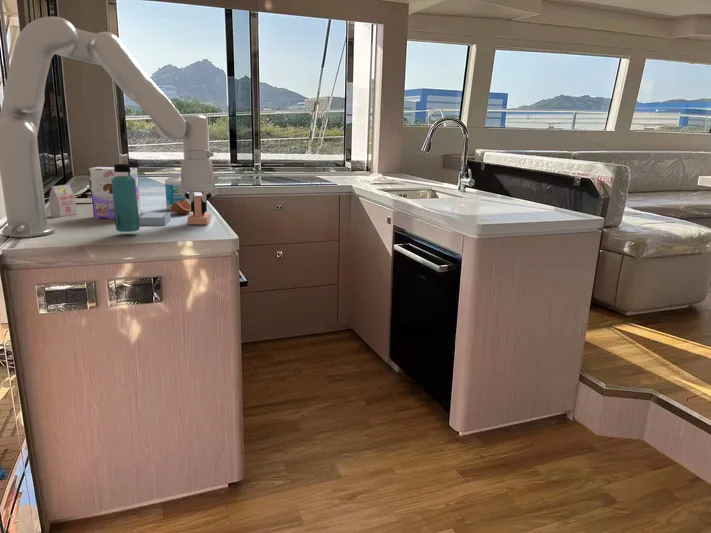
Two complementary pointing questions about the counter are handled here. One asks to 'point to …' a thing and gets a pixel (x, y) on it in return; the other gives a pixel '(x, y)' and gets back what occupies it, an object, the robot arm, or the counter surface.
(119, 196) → the beverage bottle
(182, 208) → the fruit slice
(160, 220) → the flat grey block
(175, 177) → the pill bottle
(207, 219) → the stub
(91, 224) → the counter surface
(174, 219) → the counter surface
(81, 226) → the counter surface
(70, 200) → the gable top carton
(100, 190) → the candy box
